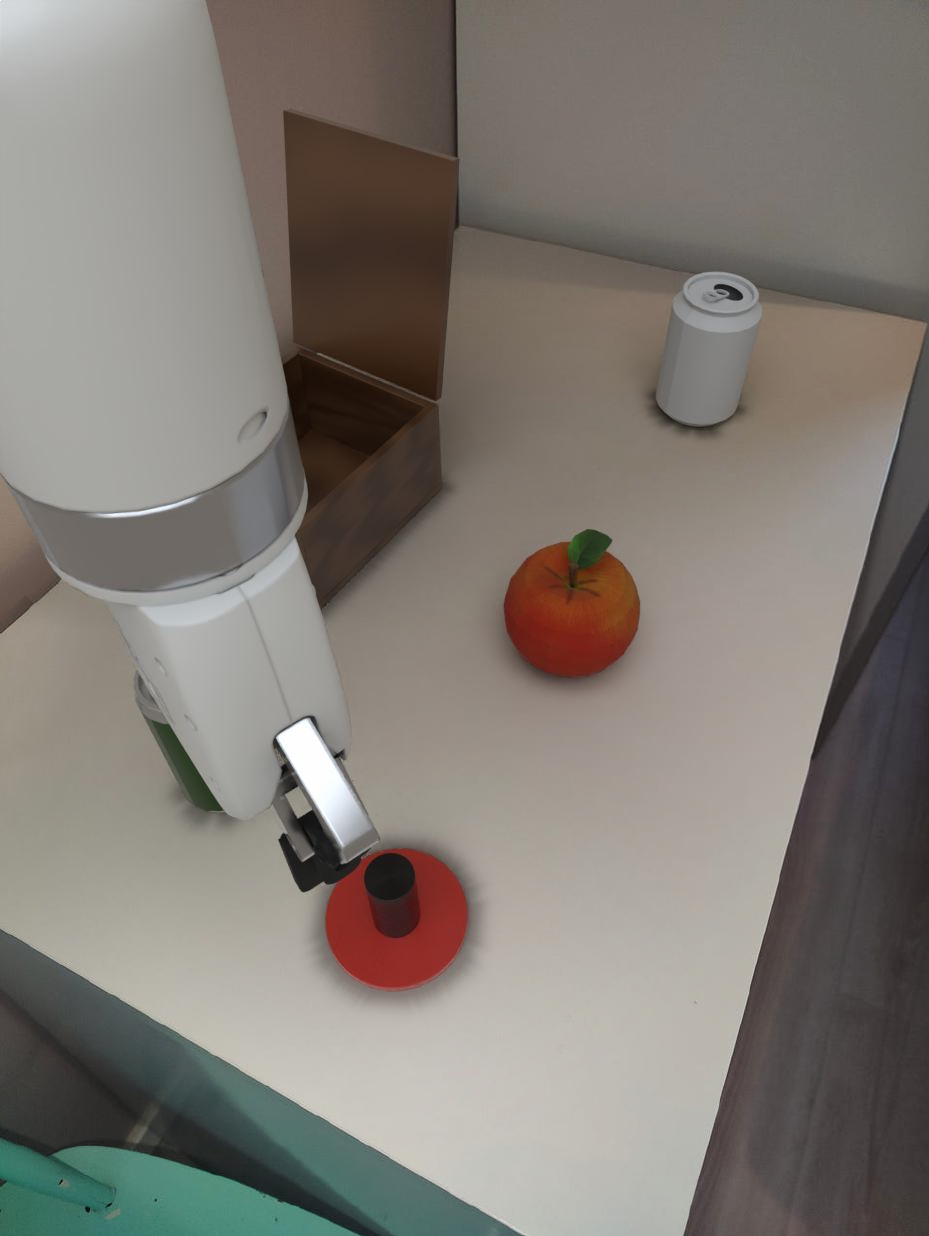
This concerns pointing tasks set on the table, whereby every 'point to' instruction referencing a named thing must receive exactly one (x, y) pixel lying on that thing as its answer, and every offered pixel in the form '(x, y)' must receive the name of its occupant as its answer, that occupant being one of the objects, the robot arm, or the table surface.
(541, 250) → the table surface
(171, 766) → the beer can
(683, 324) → the can
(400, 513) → the chest
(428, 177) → the chest lid
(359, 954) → the pot lid
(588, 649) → the fruit
